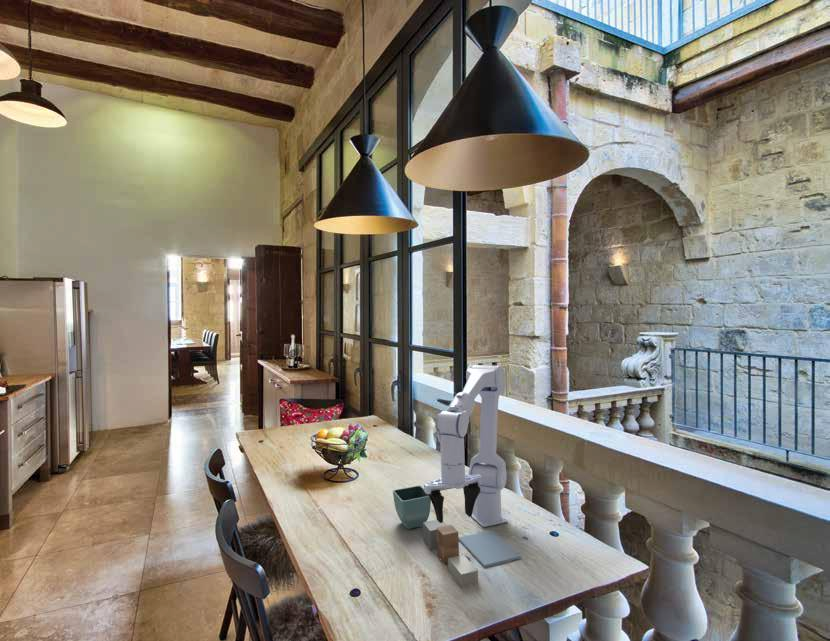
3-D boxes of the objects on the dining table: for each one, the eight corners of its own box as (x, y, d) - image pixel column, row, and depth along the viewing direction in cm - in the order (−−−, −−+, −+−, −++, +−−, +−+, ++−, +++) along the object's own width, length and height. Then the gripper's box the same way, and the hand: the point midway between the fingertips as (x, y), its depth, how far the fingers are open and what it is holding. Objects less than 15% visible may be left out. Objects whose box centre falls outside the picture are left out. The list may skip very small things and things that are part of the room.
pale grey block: (448, 571, 103) (448, 558, 103) (463, 567, 104) (463, 554, 104) (461, 588, 96) (461, 574, 96) (478, 583, 98) (477, 570, 98)
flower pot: (392, 520, 129) (391, 489, 129) (421, 515, 132) (420, 484, 132) (402, 534, 120) (401, 501, 120) (432, 528, 123) (432, 495, 123)
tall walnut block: (437, 556, 109) (436, 527, 109) (452, 552, 111) (451, 524, 110) (443, 564, 105) (443, 534, 105) (459, 560, 107) (458, 531, 107)
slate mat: (458, 539, 117) (458, 537, 117) (491, 532, 120) (491, 530, 120) (484, 567, 103) (484, 565, 103) (521, 558, 107) (521, 555, 107)
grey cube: (423, 541, 116) (423, 522, 116) (441, 537, 118) (440, 518, 118) (430, 550, 112) (430, 530, 112) (449, 546, 114) (448, 527, 113)
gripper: (431, 471, 101) (433, 531, 101) (487, 462, 106) (489, 519, 106) (419, 462, 107) (421, 518, 108) (473, 454, 113) (475, 507, 113)
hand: (454, 518), depth 107 cm, fingers open, 7 cm apart
